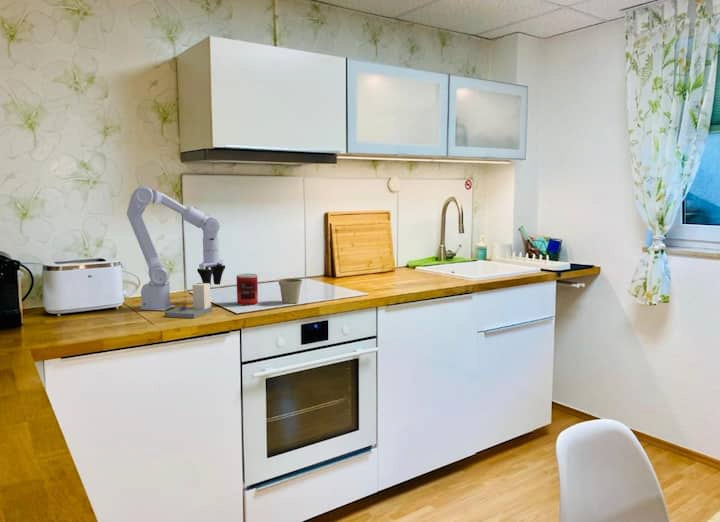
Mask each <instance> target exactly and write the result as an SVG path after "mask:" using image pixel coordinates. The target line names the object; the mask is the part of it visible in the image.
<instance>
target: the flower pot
mask: <svg viewBox="0 0 720 522" xmlns="http://www.w3.org/2000/svg"><path fill="white" fill-rule="evenodd" d="M277 282H278V286H279V290H280V296H281V302H282V303H283V304H286V305H287V304H289V305H292V303H293V304H294V303H295V304H298V303H299V300H300V293H301V292H300V291H301V286H302V282H303V279H301V278H281V279H277Z"/></svg>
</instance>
